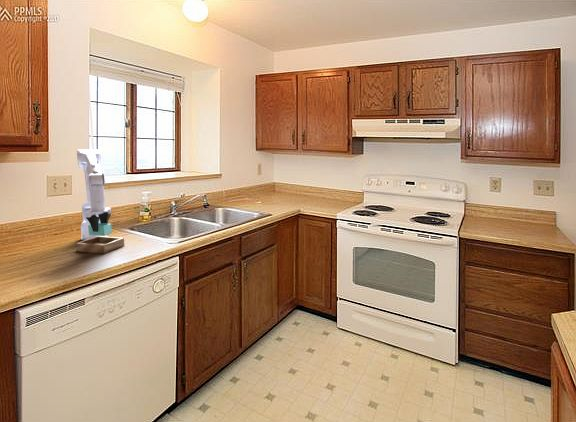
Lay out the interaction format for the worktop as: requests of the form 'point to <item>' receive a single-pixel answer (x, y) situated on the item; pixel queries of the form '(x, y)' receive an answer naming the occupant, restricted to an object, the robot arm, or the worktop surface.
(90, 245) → the tray
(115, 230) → the worktop surface
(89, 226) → the teal crate
